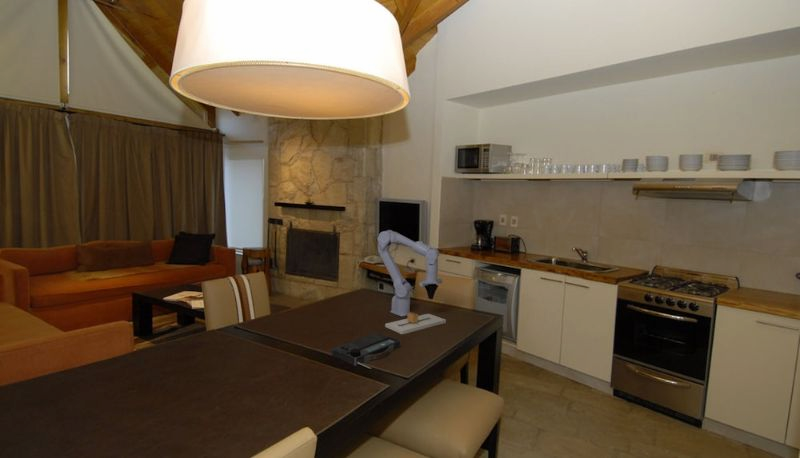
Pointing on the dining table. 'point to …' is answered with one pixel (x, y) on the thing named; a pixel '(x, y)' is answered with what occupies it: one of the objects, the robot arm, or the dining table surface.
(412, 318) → the fader tab
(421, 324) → the fader console
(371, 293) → the dining table surface
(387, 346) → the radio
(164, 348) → the dining table surface
